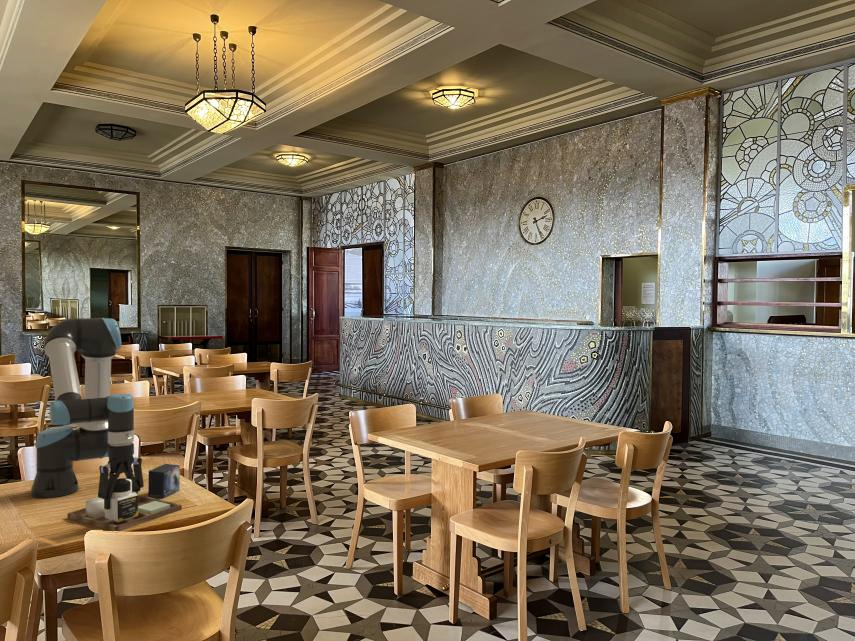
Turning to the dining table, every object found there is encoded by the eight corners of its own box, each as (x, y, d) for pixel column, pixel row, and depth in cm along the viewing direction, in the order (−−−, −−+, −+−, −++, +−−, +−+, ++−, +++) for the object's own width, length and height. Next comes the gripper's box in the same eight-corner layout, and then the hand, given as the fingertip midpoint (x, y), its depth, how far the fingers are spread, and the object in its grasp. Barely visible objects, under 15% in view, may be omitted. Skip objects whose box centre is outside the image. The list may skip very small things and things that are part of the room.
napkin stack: (135, 513, 217) (135, 507, 217) (155, 506, 224) (155, 500, 224) (151, 517, 214) (151, 510, 214) (170, 510, 220) (170, 504, 220)
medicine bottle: (117, 522, 204) (117, 484, 203) (104, 518, 207) (103, 480, 207) (138, 516, 210) (138, 478, 209) (125, 511, 213) (124, 475, 213)
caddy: (67, 520, 212) (67, 513, 212) (133, 500, 233) (133, 493, 233) (116, 534, 200) (116, 527, 200) (181, 511, 221) (181, 504, 221)
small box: (163, 501, 232) (163, 472, 232) (147, 499, 234) (147, 470, 233) (180, 492, 243) (180, 464, 242) (164, 491, 244) (164, 463, 244)
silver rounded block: (81, 517, 213) (81, 501, 213) (101, 511, 219) (100, 496, 219) (94, 521, 209) (94, 505, 209) (114, 514, 216) (114, 499, 215)
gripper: (99, 451, 197) (99, 527, 198) (156, 438, 215) (156, 508, 216) (83, 448, 200) (84, 522, 201) (140, 436, 218) (141, 504, 219)
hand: (121, 515), depth 208 cm, fingers closed on medicine bottle, 7 cm apart
